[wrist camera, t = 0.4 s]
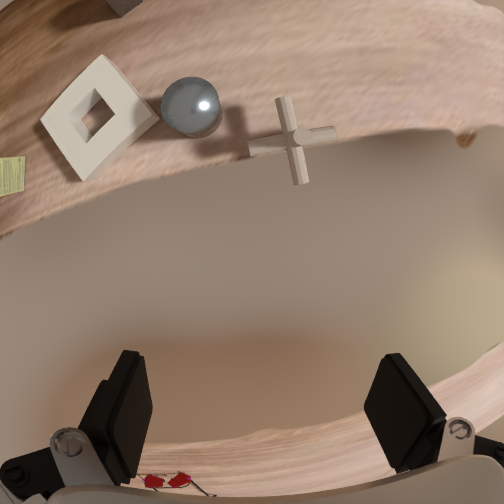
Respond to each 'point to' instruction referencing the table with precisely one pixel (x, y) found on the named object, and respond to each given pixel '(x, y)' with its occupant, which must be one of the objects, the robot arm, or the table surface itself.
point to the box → (12, 175)
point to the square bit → (123, 5)
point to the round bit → (192, 107)
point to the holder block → (112, 133)
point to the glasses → (170, 482)
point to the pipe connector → (292, 140)
